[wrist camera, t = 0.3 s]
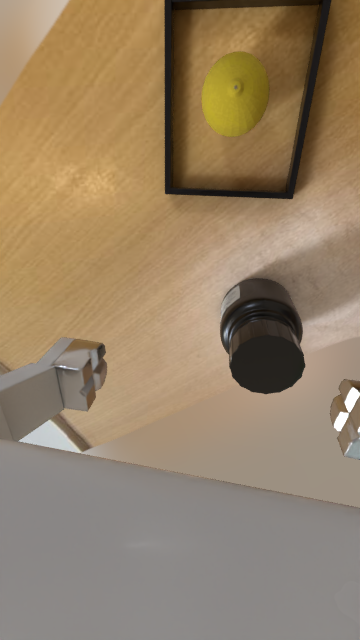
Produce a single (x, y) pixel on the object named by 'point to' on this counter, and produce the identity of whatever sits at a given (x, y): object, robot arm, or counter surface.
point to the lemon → (235, 94)
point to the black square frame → (240, 0)
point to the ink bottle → (262, 336)
